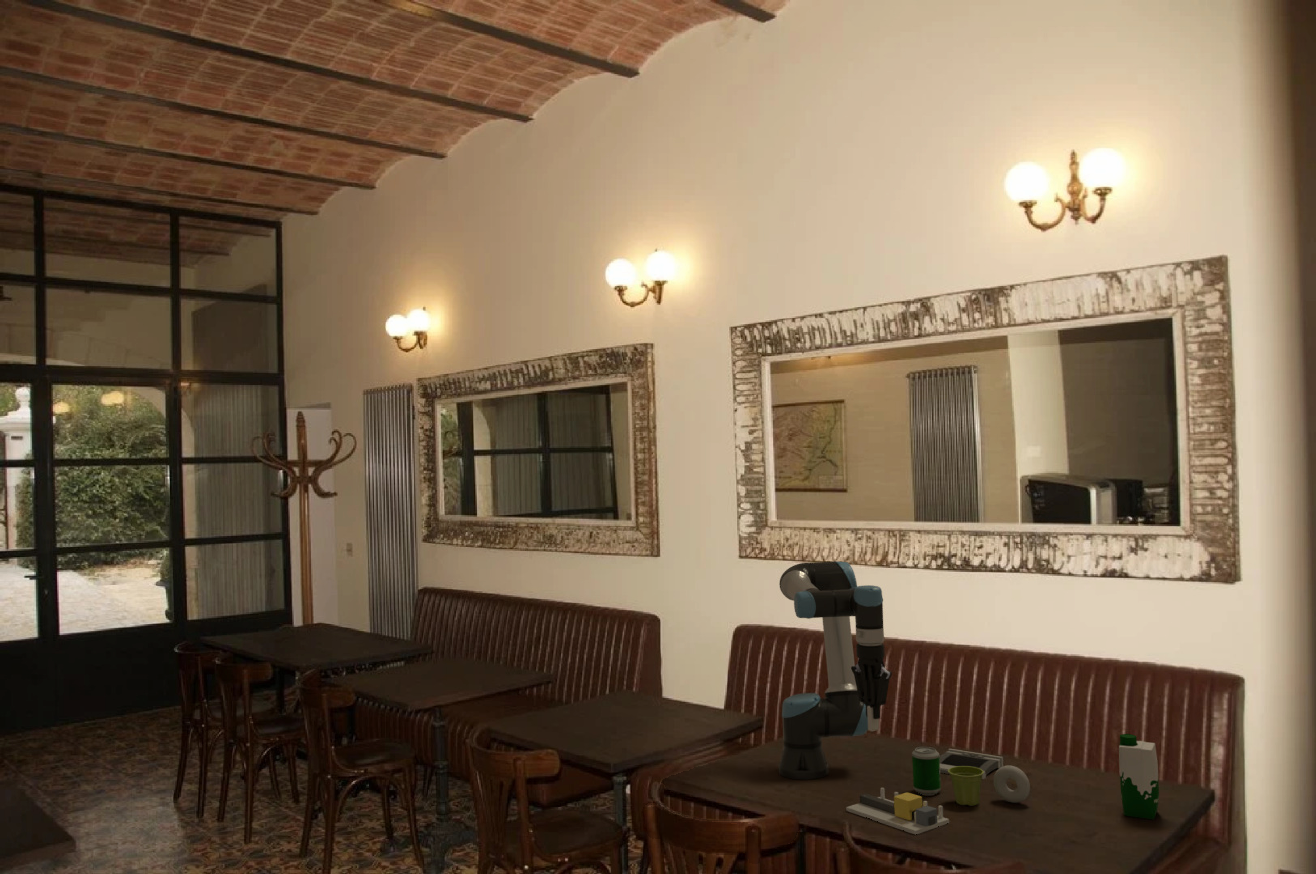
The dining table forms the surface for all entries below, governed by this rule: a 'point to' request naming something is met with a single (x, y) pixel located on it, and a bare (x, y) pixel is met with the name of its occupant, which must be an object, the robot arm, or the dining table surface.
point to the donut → (1020, 779)
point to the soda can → (926, 770)
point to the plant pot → (966, 784)
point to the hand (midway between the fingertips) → (873, 730)
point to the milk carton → (1138, 777)
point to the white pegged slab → (885, 814)
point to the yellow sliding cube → (906, 805)
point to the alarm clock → (969, 761)
